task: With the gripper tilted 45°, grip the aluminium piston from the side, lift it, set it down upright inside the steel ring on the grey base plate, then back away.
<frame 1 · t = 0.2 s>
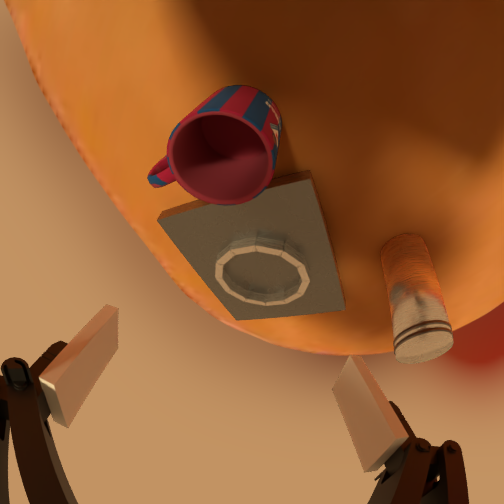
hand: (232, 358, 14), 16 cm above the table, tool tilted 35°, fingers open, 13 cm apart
grey base plate: (264, 261, 32), on the table
piston: (403, 252, 27), on the table
mug: (221, 127, 21), on the table
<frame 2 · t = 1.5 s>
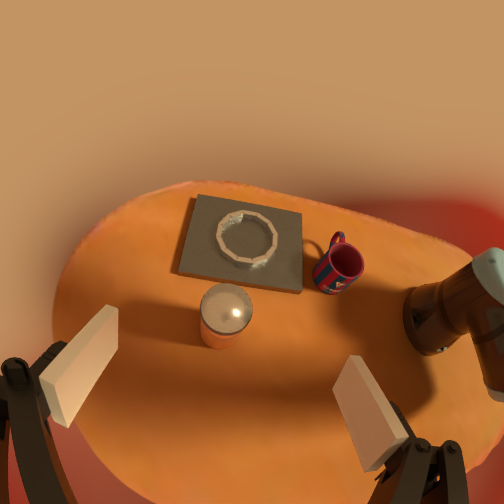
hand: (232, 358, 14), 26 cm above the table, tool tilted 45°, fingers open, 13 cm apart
grey base plate: (244, 243, 48), on the table
piston: (219, 331, 39), on the table
mug: (329, 270, 49), on the table
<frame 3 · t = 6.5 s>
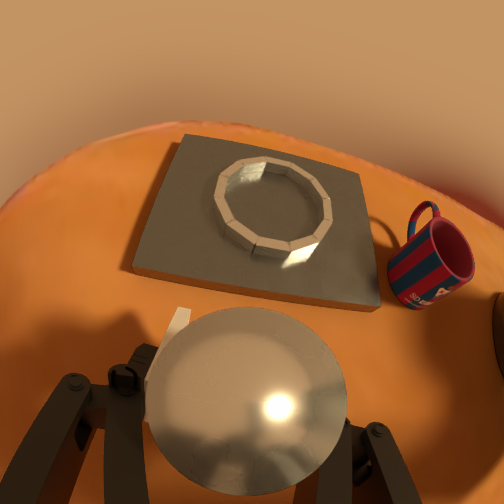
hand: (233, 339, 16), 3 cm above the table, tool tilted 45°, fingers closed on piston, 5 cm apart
grey base plate: (268, 216, 25), on the table
piston: (218, 397, 16), on the table, touching gripper
mug: (408, 267, 26), on the table
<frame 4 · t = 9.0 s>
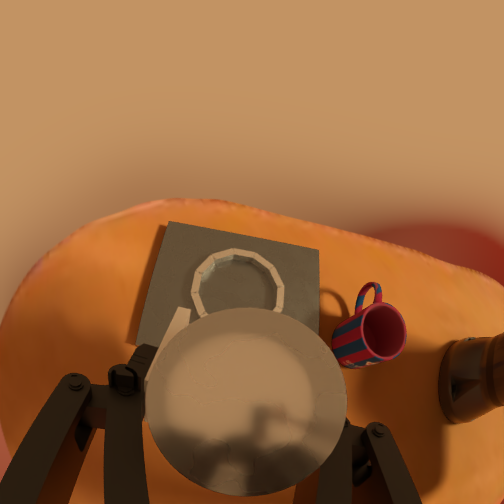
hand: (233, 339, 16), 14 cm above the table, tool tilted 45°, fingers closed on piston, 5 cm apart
grey base plate: (235, 298, 32), on the table
piston: (218, 398, 16), point 11 cm above the table, touching gripper
mug: (354, 332, 33), on the table
when the fingers open (6 cm above the table, at t = 11.8 s): piston stays where it is, resting on grey base plate.
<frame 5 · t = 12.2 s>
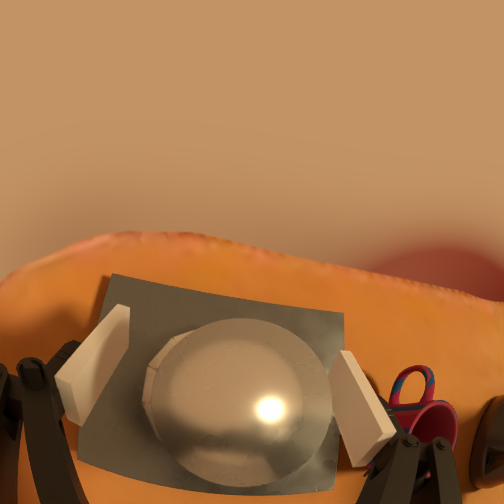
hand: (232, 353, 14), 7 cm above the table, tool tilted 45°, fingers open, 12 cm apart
grey base plate: (215, 397, 19), on the table
piston: (217, 398, 17), point 2 cm above the table, touching grey base plate
mug: (384, 422, 19), on the table
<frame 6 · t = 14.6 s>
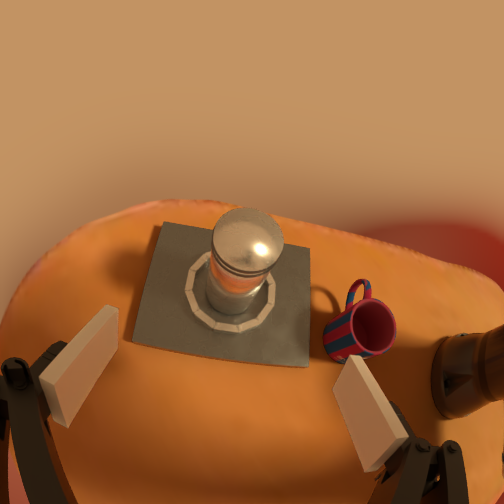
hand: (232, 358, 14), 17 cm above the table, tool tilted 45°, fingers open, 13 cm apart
grey base plate: (228, 295, 33), on the table
piston: (230, 291, 32), point 2 cm above the table, touching grey base plate
mug: (345, 328, 34), on the table
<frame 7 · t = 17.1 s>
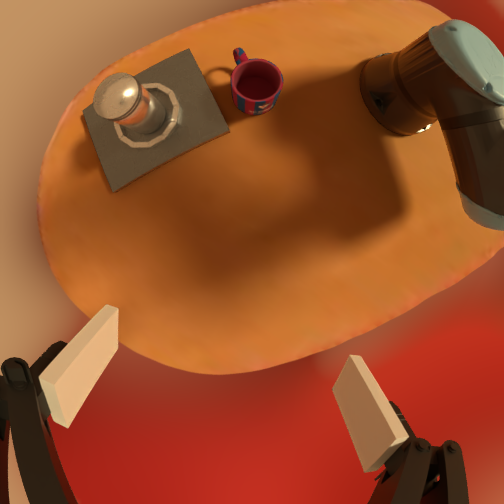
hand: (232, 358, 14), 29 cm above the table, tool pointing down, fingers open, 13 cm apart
grey base plate: (150, 118, 36), on the table
piston: (147, 116, 35), point 2 cm above the table, touching grey base plate
mug: (251, 86, 36), on the table
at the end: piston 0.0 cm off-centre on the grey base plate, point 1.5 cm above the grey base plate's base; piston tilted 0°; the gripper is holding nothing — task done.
